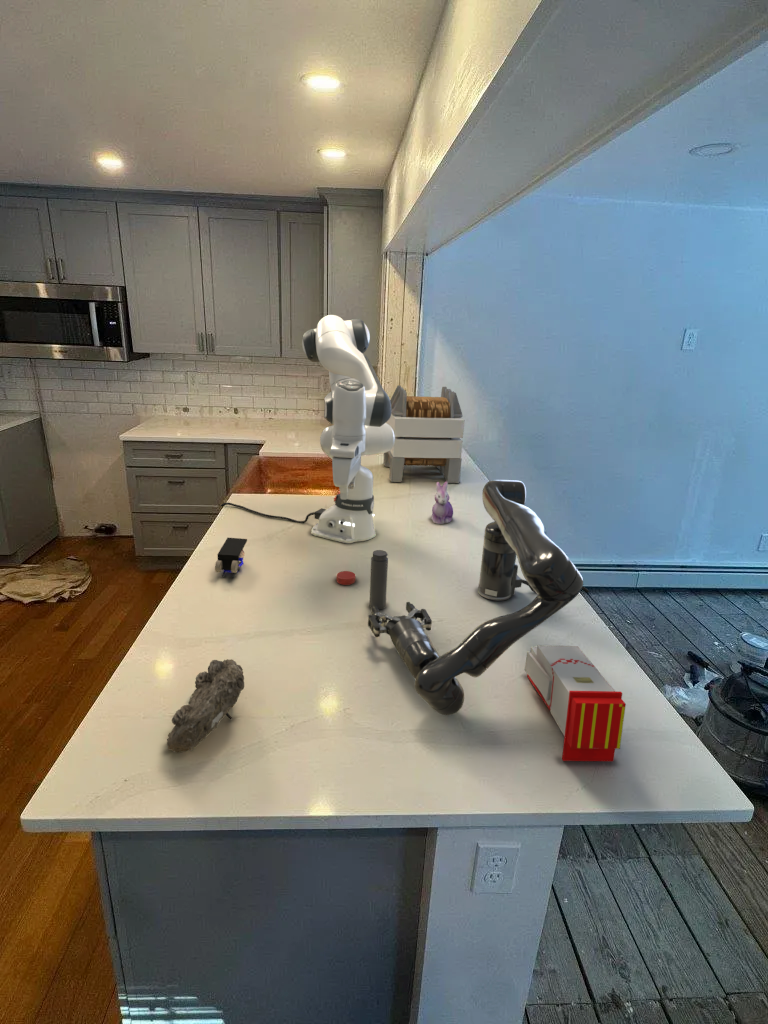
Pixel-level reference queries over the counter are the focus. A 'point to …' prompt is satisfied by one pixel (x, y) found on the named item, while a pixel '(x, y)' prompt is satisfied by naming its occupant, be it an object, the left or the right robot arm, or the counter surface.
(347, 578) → the lid
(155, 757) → the counter surface
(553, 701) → the toy
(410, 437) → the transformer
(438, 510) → the figurine
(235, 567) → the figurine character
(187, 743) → the fossil
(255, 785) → the counter surface
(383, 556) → the jar
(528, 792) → the counter surface
